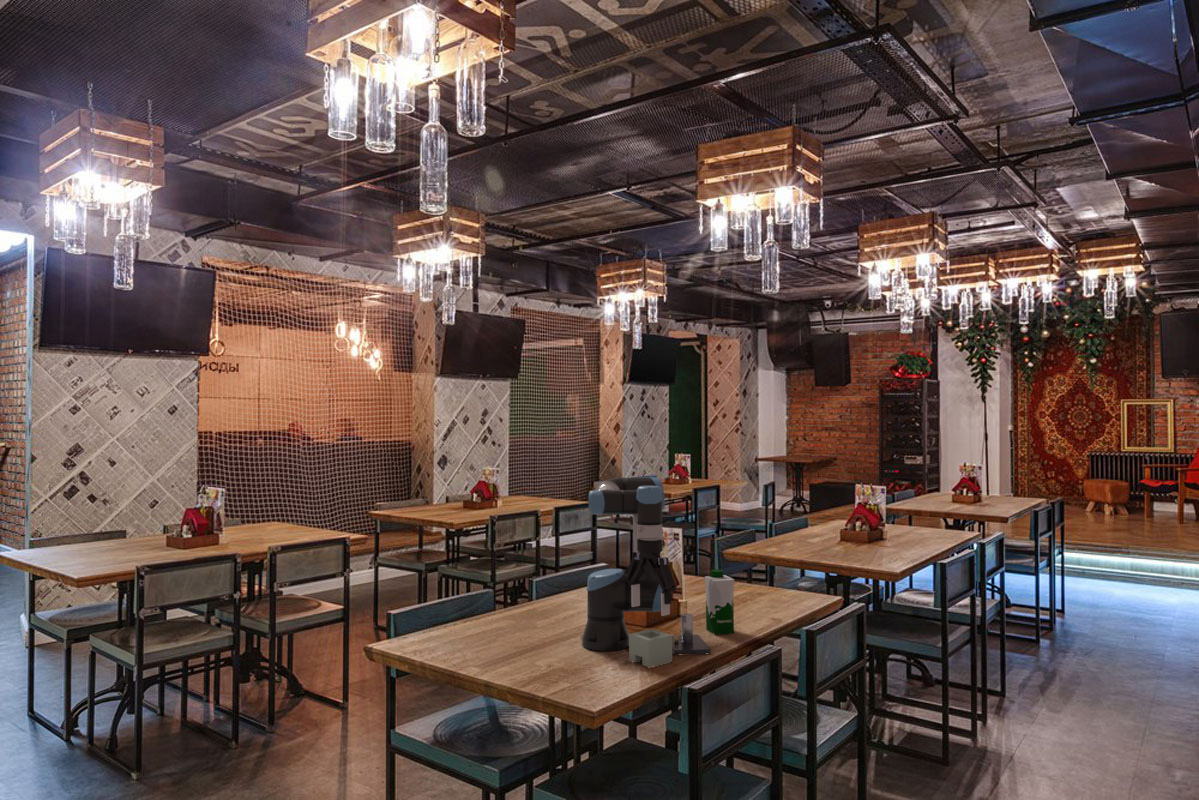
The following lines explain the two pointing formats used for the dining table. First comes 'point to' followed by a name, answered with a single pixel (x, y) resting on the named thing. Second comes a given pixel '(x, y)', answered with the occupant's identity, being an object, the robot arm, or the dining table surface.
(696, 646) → the base plate
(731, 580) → the milk carton
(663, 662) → the notched green box
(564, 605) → the dining table surface
